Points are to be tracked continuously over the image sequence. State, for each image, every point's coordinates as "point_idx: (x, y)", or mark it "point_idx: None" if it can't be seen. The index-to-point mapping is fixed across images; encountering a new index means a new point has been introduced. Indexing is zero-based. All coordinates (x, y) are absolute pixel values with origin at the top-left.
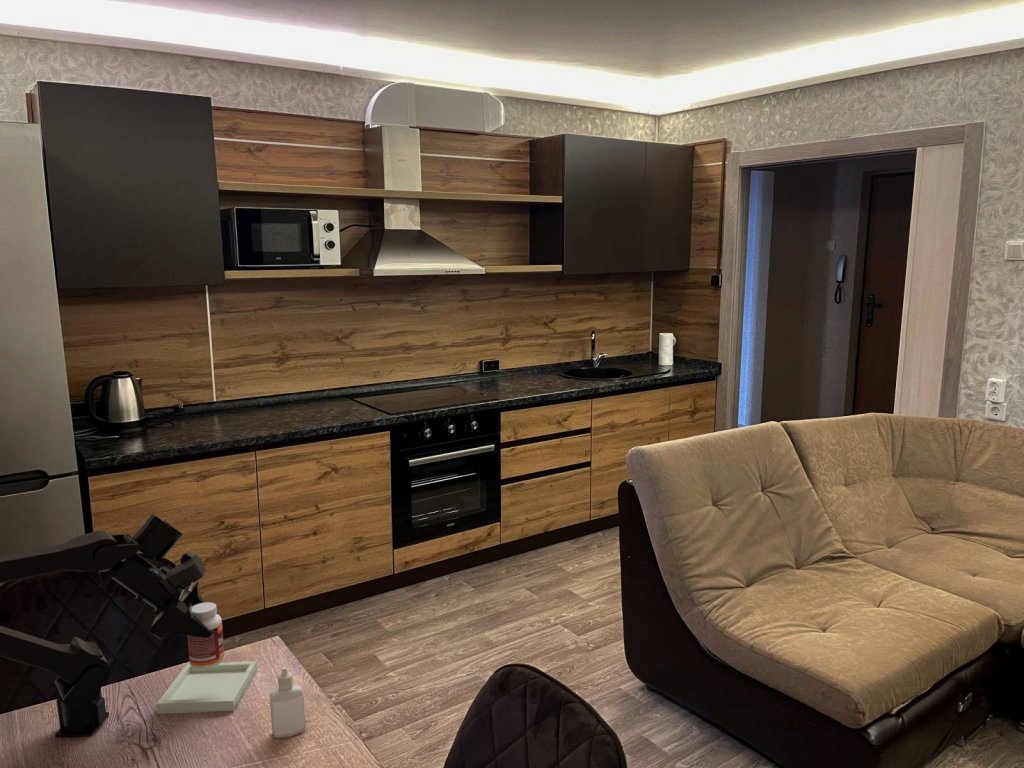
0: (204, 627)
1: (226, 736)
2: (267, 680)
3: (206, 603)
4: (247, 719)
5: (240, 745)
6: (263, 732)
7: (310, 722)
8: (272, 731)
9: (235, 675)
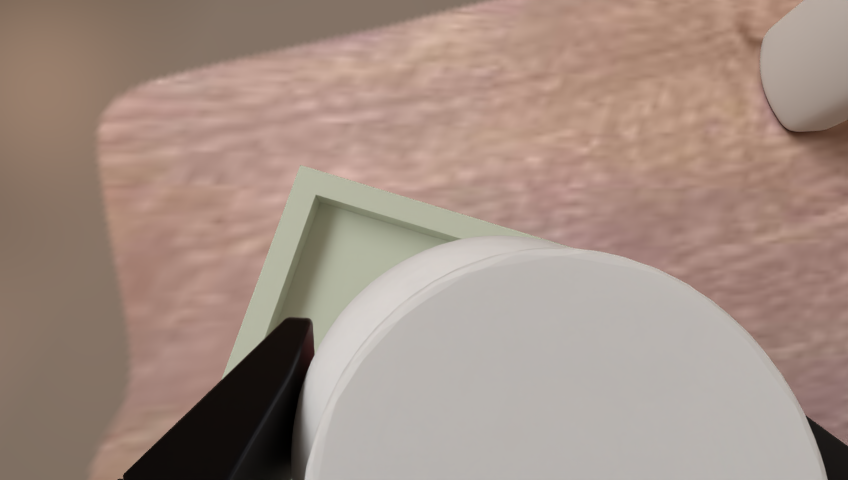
0: (816, 424)
1: (771, 292)
2: (411, 142)
3: (374, 457)
4: (679, 219)
5: (837, 241)
6: (776, 164)
7: (753, 14)
8: (829, 125)
9: (348, 267)
